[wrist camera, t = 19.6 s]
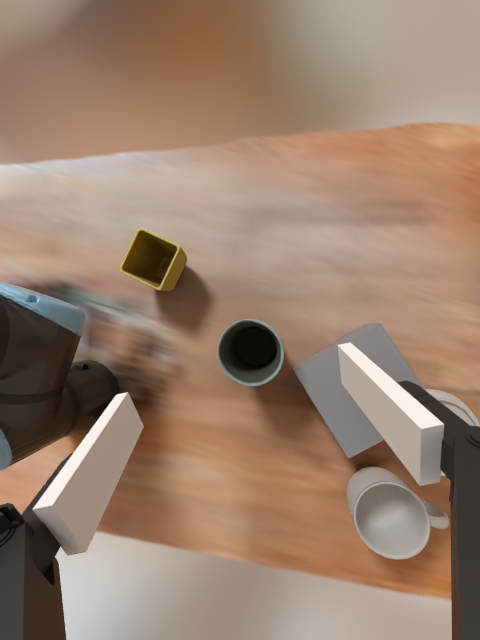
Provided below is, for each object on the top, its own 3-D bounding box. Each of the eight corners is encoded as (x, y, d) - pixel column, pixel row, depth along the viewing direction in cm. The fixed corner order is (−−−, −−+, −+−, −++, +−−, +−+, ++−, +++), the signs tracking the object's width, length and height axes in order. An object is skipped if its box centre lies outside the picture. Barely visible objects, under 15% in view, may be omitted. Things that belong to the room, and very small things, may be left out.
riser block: (338, 441, 45) (348, 458, 39) (292, 367, 46) (294, 372, 40) (417, 399, 43) (439, 410, 37) (365, 323, 45) (380, 323, 39)
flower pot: (197, 260, 50) (181, 245, 41) (179, 298, 50) (159, 291, 41) (162, 244, 51) (138, 226, 42) (144, 280, 52) (117, 270, 43)
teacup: (335, 508, 44) (349, 547, 36) (345, 450, 44) (360, 476, 37) (417, 530, 42) (450, 577, 34) (427, 469, 42) (461, 502, 35)
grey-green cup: (286, 366, 47) (291, 379, 35) (236, 377, 48) (224, 392, 36) (274, 316, 47) (275, 311, 35) (225, 327, 49) (210, 327, 37)
